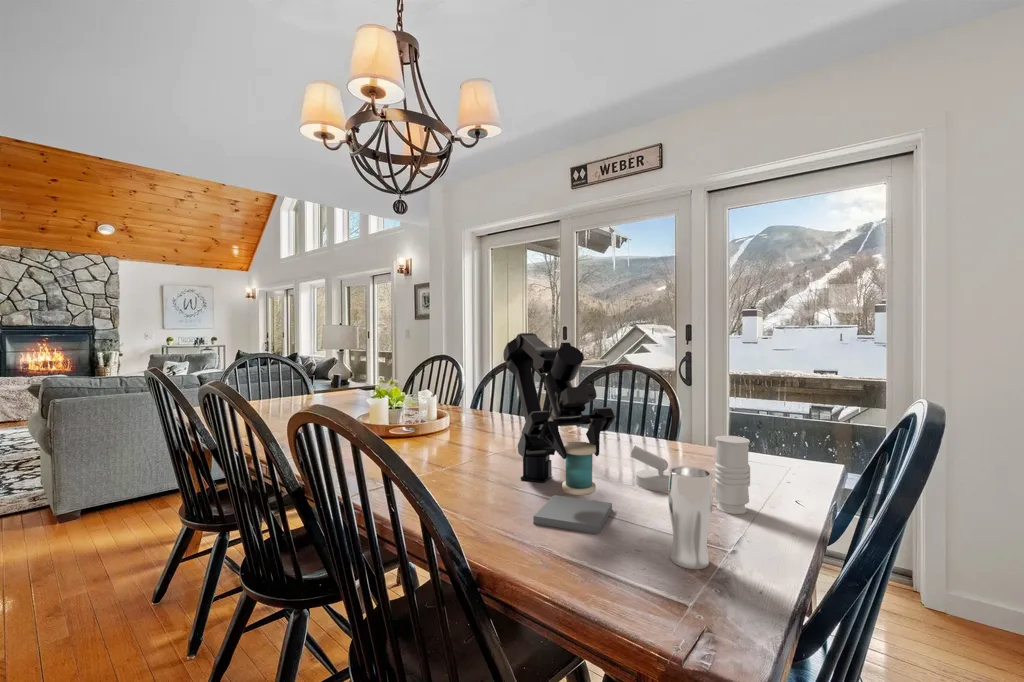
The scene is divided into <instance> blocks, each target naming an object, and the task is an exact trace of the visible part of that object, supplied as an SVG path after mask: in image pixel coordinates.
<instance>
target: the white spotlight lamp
mask: <svg viewBox="0 0 1024 682" xmlns="http://www.w3.org/2000/svg"><path fill="white" fill-rule="evenodd" d="M630 457H631V458H633V459H635V460H636V461H639V462H641V463H643V464H645V465H647V466H649V467H651V468H654V469H642V470H638V471H636V473H635V485H636V484H637V485H638V486H637V485H636V486H637V487H639V488H641V487H642V488H641V489H644V488H645V489H644V490H648V489H650V490H649V491H657V490H661V491H667V489H668V486H669V476H670V472H667V470H668V468H669V462H668V461H667V460H666V459H665V458H664V457H661V456H659V455H657V454H655V453H652V452H651V451H648V450H646V449H643V448H642V447H639V446H638V445H636V444H635V445H634V446H633V448H632V450H631V453H630Z"/></svg>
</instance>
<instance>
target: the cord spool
mask: <svg viewBox="0 0 1024 682" xmlns="http://www.w3.org/2000/svg"><path fill="white" fill-rule="evenodd" d="M563 445H564V447H565V451H566V455H567V457H566V459H565V480H564V481H563V482H562V485H561V487H562V491H563V492H564V493H567V494H570V495H573V496H574V495H575V496H587V495H591V494H593V493H595V492H596V489H597V488H596V487H597V486H596V485H597V484H596V483H595V482H594V481H593V454H594V453H595V452H596V446H595V445H594V444H591V443H589V442H586V441H569V442H565V443H564V442H563ZM594 455H595V454H594Z"/></svg>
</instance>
